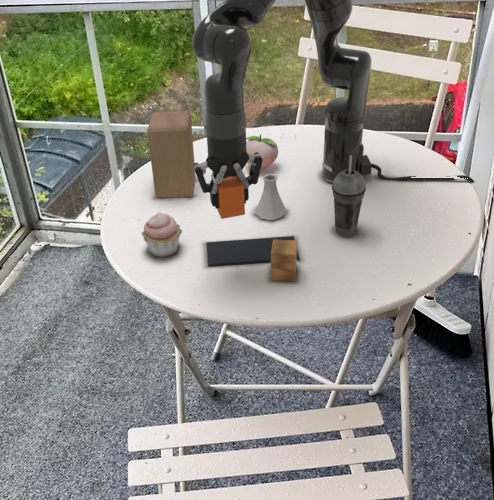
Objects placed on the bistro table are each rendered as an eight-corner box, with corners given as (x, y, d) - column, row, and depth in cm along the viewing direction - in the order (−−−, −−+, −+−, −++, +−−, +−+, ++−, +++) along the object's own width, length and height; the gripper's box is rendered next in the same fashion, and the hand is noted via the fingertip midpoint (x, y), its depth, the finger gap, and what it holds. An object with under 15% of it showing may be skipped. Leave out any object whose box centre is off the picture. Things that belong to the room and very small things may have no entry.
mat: (293, 238, 150) (293, 235, 150) (299, 260, 143) (299, 257, 143) (206, 244, 151) (206, 242, 151) (208, 266, 144) (207, 264, 144)
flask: (249, 214, 159) (248, 179, 154) (267, 201, 163) (266, 166, 158) (273, 224, 155) (273, 188, 149) (291, 210, 159) (292, 174, 153)
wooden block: (196, 178, 176) (190, 109, 164) (193, 198, 168) (187, 126, 156) (159, 179, 177) (151, 110, 166) (154, 199, 169) (146, 128, 158)
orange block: (238, 202, 138) (237, 173, 134) (245, 214, 134) (244, 185, 130) (215, 206, 137) (213, 177, 133) (221, 219, 133) (219, 189, 129)
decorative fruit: (239, 174, 176) (238, 140, 170) (248, 160, 182) (247, 127, 176) (273, 178, 172) (273, 144, 167) (281, 163, 178) (281, 130, 173)
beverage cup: (363, 224, 152) (370, 146, 140) (360, 242, 146) (367, 162, 135) (331, 220, 154) (336, 144, 143) (327, 238, 149) (331, 160, 137)
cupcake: (156, 234, 156) (152, 198, 150) (190, 242, 152) (187, 206, 146) (135, 255, 150) (129, 218, 144) (170, 265, 146) (166, 228, 140)
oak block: (296, 266, 141) (297, 240, 137) (294, 281, 137) (295, 254, 133) (273, 265, 142) (273, 239, 138) (271, 279, 138) (270, 253, 134)
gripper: (193, 143, 121) (199, 220, 131) (268, 131, 122) (269, 207, 132) (185, 126, 127) (192, 201, 137) (256, 114, 128) (258, 189, 138)
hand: (229, 203), depth 134 cm, fingers closed on orange block, 5 cm apart
